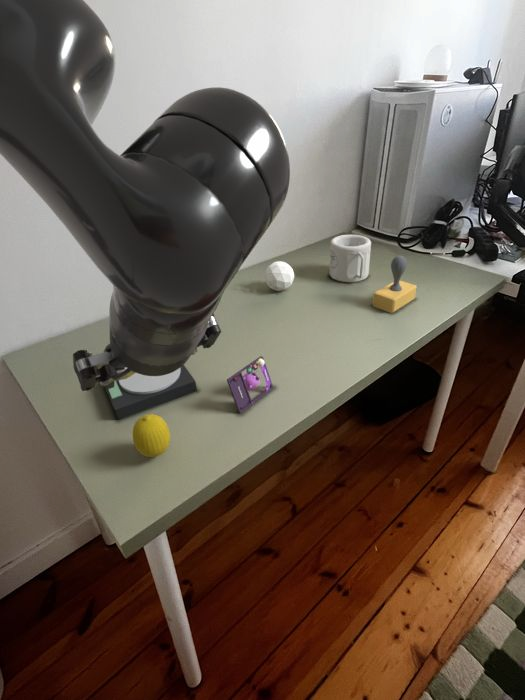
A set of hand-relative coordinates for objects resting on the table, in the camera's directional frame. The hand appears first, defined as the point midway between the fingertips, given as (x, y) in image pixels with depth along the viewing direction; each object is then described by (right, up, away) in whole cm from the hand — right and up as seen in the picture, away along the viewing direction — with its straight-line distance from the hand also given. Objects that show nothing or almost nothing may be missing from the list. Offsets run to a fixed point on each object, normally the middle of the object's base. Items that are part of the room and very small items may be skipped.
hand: (144, 367), depth 50 cm
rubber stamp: (+46, +14, +57) cm, 75 cm away
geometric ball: (+18, +18, +67) cm, 72 cm away
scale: (-8, -5, +34) cm, 35 cm away
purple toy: (+11, -7, +30) cm, 33 cm away
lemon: (-3, -15, +19) cm, 25 cm away
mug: (+38, +22, +71) cm, 83 cm away
